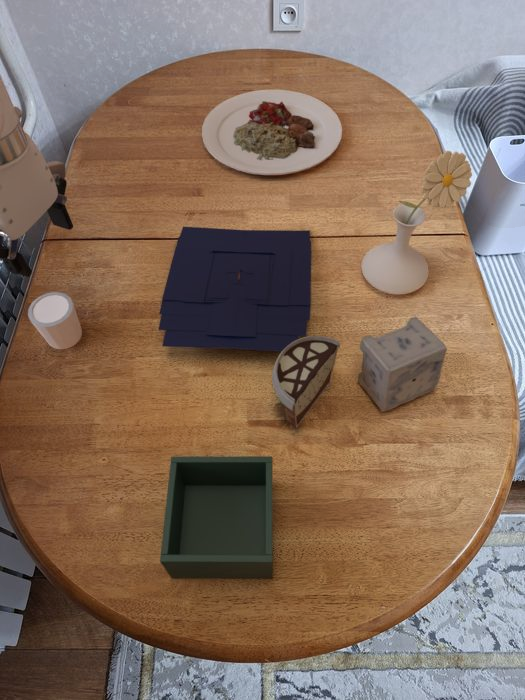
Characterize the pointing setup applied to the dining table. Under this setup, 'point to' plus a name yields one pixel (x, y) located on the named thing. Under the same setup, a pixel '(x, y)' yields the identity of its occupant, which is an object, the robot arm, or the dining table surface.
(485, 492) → the dining table surface
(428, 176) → the flower in vase
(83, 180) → the dining table surface
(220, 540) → the open square box
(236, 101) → the plated food
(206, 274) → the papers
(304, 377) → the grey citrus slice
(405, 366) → the incense holder
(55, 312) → the light grey rounded piece
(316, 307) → the dining table surface
